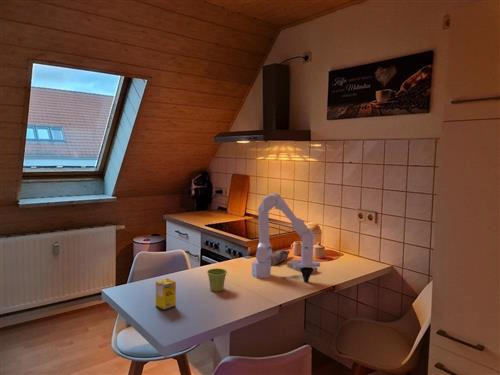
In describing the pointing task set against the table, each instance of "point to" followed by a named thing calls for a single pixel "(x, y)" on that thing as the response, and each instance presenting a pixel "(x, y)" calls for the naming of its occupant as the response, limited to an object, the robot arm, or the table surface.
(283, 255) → the decorative bottle
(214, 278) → the plant pot
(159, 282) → the supplement box
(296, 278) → the laid board
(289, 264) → the brick
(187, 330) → the table surface
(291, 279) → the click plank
